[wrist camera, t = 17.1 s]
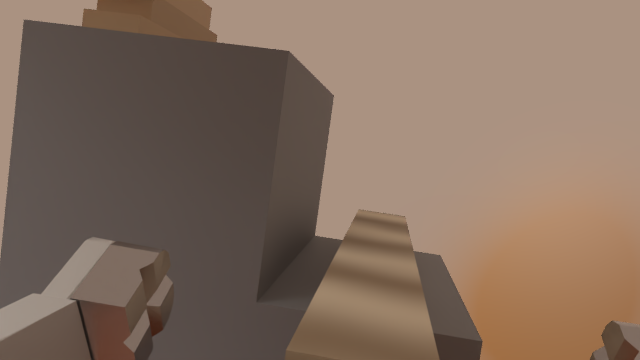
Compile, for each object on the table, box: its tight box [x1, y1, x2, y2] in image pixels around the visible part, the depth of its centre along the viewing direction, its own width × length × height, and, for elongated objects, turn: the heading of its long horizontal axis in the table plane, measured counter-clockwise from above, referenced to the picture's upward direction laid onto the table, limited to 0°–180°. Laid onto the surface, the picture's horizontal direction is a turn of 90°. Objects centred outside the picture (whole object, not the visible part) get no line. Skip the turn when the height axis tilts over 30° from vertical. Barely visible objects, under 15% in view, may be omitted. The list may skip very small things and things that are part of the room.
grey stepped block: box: [0, 0, 482, 360], centre depth 28 cm, size 16×18×30 cm
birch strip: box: [285, 210, 440, 360], centre depth 24 cm, size 26×3×2 cm, turn 172°
